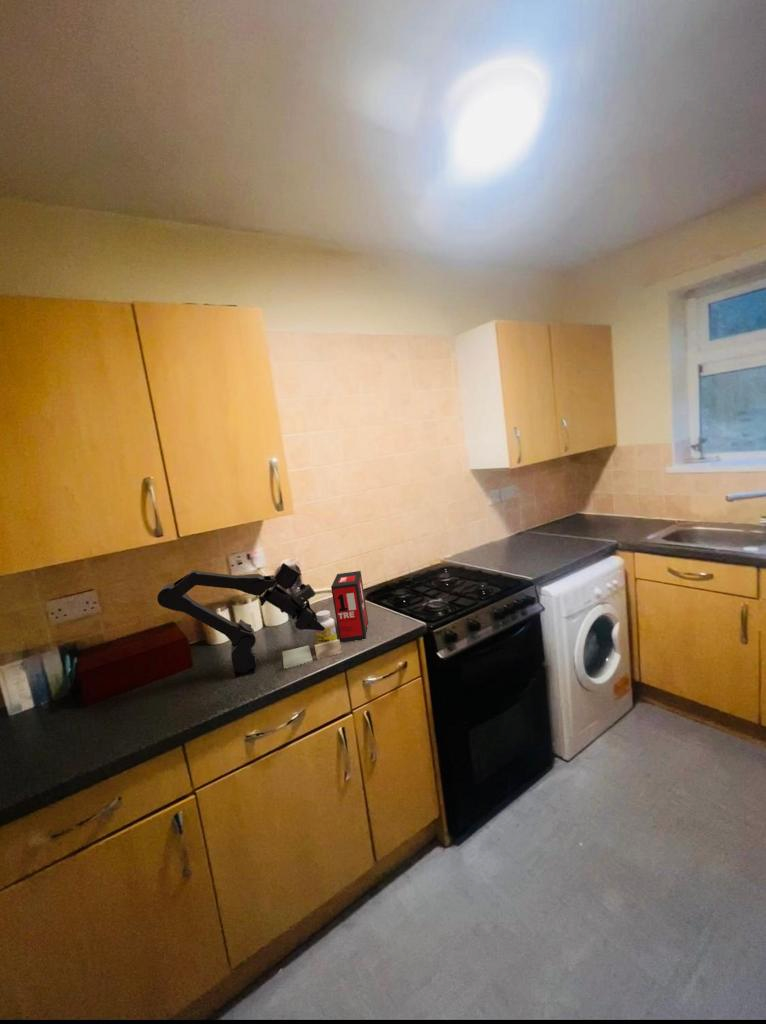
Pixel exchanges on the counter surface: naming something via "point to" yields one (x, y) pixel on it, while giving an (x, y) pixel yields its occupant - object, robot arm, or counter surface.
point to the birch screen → (328, 649)
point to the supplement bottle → (329, 625)
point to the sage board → (296, 656)
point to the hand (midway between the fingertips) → (322, 624)
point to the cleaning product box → (350, 606)
